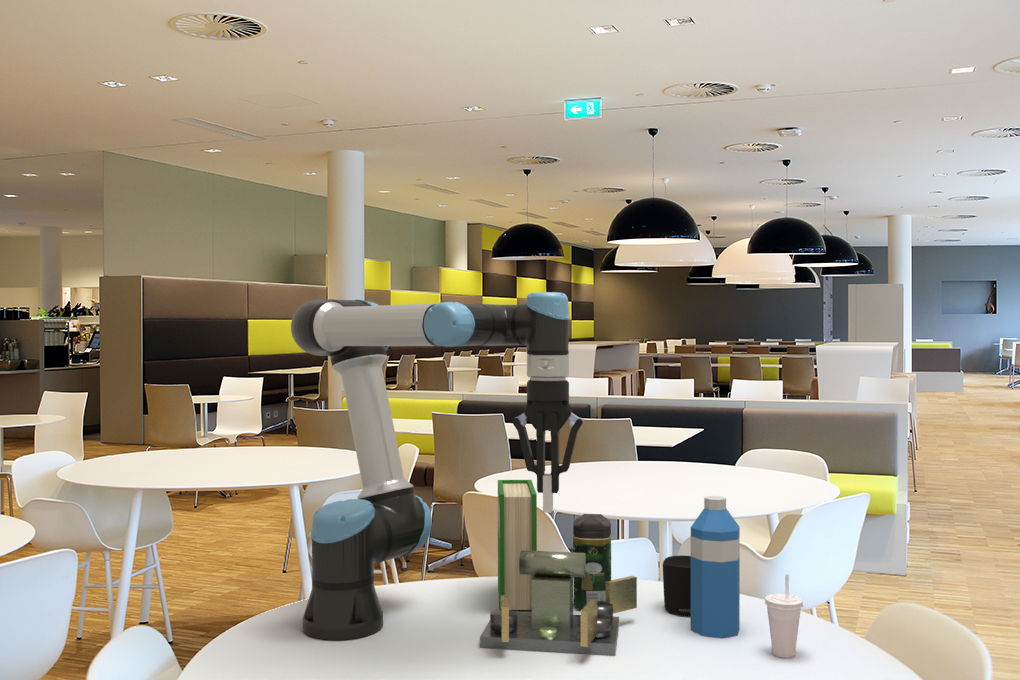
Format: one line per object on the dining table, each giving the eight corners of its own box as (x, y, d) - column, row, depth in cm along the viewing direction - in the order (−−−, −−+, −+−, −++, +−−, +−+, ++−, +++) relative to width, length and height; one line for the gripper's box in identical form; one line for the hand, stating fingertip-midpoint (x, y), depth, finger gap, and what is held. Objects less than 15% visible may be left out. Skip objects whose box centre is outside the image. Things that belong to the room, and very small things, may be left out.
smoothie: (797, 663, 149) (797, 581, 149) (760, 656, 152) (760, 575, 152) (806, 651, 154) (807, 572, 154) (770, 645, 157) (770, 567, 157)
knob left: (489, 623, 163) (489, 588, 163) (516, 622, 163) (516, 587, 163) (490, 645, 151) (490, 607, 151) (519, 644, 151) (519, 607, 151)
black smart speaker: (653, 610, 178) (653, 561, 178) (681, 600, 184) (681, 553, 184) (691, 621, 171) (691, 570, 171) (719, 611, 177) (719, 561, 177)
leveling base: (480, 647, 156) (479, 561, 156) (495, 620, 171) (495, 541, 171) (615, 655, 152) (615, 567, 152) (618, 627, 167) (618, 546, 167)
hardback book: (536, 613, 175) (536, 494, 175) (499, 614, 175) (499, 494, 175) (531, 588, 193) (531, 479, 193) (497, 588, 193) (497, 479, 193)
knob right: (586, 626, 161) (586, 591, 161) (613, 629, 159) (613, 594, 159) (569, 647, 150) (569, 609, 150) (598, 651, 148) (598, 612, 148)
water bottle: (749, 629, 166) (749, 497, 166) (724, 642, 159) (724, 504, 159) (706, 618, 172) (706, 491, 172) (680, 630, 165) (680, 498, 165)
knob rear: (598, 624, 162) (598, 589, 162) (581, 617, 166) (580, 583, 166) (643, 612, 169) (643, 579, 168) (625, 606, 173) (625, 573, 173)
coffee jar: (574, 598, 186) (573, 510, 186) (611, 599, 185) (611, 511, 185) (571, 612, 176) (571, 520, 176) (611, 613, 175) (611, 521, 175)
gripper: (508, 379, 154) (508, 514, 154) (582, 380, 151) (582, 516, 151) (515, 377, 161) (515, 506, 161) (586, 378, 159) (586, 508, 159)
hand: (548, 511), depth 156 cm, fingers closed
